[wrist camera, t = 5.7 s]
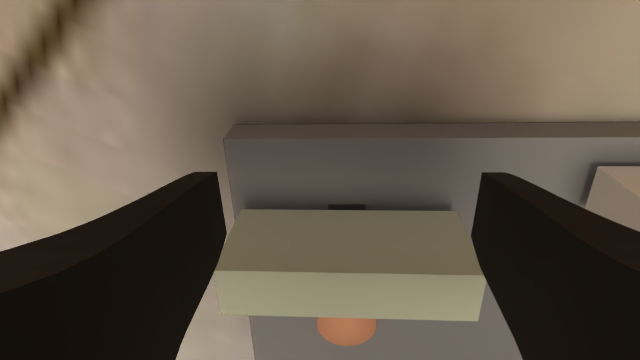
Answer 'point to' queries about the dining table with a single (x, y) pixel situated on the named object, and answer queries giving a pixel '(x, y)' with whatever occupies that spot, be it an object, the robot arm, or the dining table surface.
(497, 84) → the dining table surface
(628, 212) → the lever white
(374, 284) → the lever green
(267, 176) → the switch panel
